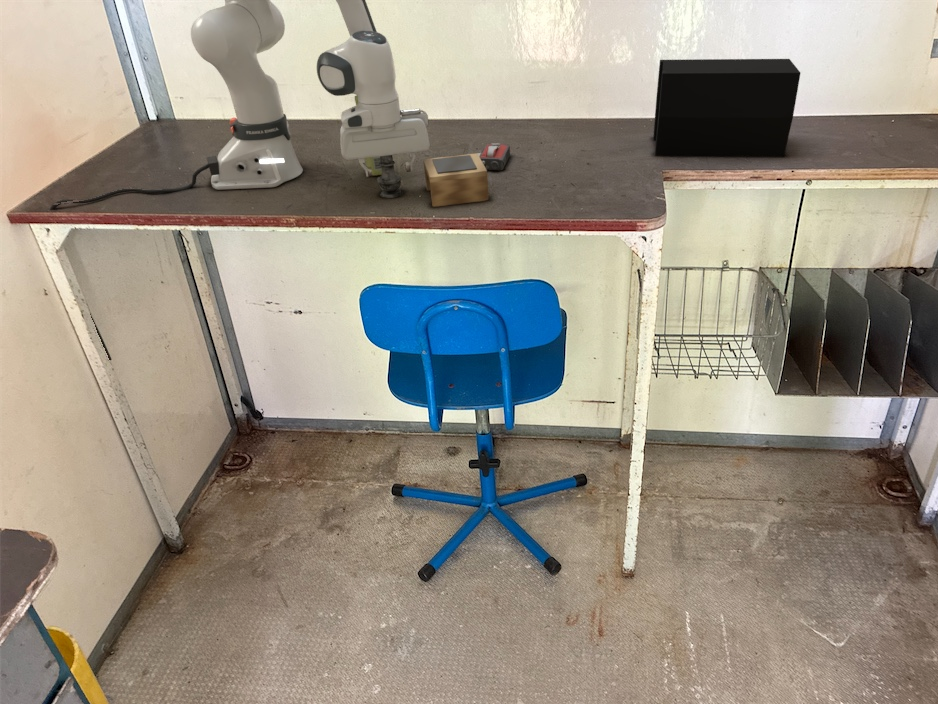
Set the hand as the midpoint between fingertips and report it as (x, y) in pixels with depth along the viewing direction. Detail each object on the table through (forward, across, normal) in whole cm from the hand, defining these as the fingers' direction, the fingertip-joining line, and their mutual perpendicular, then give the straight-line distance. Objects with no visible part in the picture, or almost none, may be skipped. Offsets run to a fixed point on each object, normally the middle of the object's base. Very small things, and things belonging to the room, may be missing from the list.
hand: (389, 173), depth 166 cm
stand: (+5, -15, +5) cm, 16 cm away
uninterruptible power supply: (+6, -86, -6) cm, 87 cm away
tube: (+5, +2, -15) cm, 16 cm away
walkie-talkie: (+5, -25, -10) cm, 28 cm away
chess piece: (+5, 0, 0) cm, 5 cm away
